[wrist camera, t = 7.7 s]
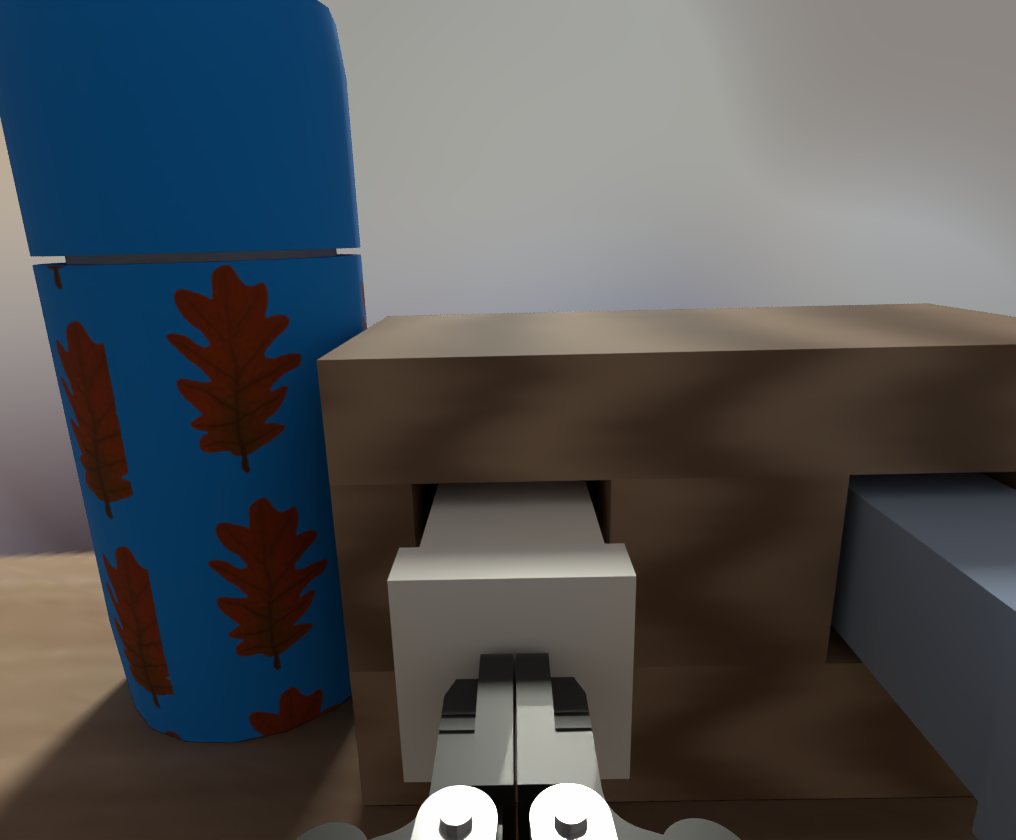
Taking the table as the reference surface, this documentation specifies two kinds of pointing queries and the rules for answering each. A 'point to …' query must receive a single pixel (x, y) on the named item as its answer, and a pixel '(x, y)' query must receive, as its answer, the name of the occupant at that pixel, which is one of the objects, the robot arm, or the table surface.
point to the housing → (677, 510)
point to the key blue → (940, 619)
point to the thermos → (196, 331)
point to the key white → (513, 608)
